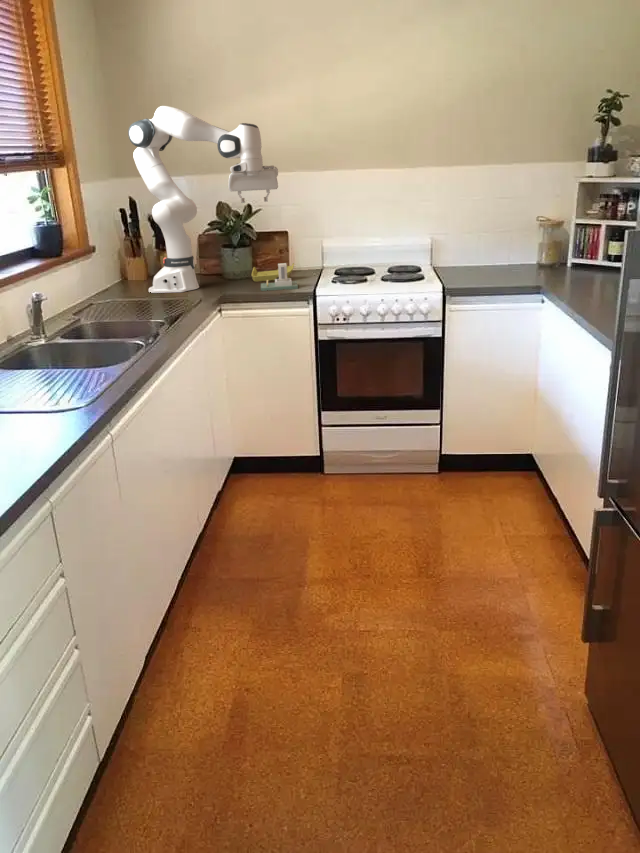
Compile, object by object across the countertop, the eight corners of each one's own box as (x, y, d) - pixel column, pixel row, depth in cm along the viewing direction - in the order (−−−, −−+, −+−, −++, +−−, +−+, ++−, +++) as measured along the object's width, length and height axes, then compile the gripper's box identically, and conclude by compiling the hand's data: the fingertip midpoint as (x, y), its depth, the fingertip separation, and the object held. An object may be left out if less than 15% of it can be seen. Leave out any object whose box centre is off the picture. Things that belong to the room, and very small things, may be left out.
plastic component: (250, 277, 339) (254, 264, 346) (254, 290, 345) (258, 277, 351) (291, 273, 335) (294, 260, 342) (295, 286, 340) (298, 273, 347)
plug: (279, 285, 320) (278, 264, 317) (279, 284, 324) (277, 263, 321) (287, 285, 320) (286, 264, 317) (287, 283, 324) (286, 263, 321)
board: (261, 290, 317) (260, 283, 316) (260, 286, 328) (260, 278, 327) (297, 288, 318) (297, 281, 317) (296, 284, 329) (296, 276, 328)
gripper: (277, 165, 299) (279, 200, 304) (227, 167, 298) (230, 202, 303) (277, 165, 293) (280, 201, 298) (226, 167, 292) (229, 203, 297)
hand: (254, 202), depth 301 cm, fingers open, 8 cm apart
